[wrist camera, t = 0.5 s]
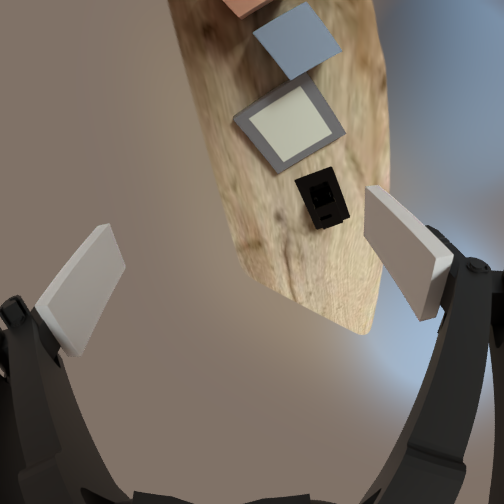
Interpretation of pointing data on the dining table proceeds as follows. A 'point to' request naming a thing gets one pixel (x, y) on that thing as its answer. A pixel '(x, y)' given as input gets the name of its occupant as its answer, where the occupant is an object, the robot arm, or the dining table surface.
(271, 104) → the blueprint board
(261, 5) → the terracotta block
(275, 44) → the blue block
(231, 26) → the dining table surface
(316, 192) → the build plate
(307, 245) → the dining table surface
